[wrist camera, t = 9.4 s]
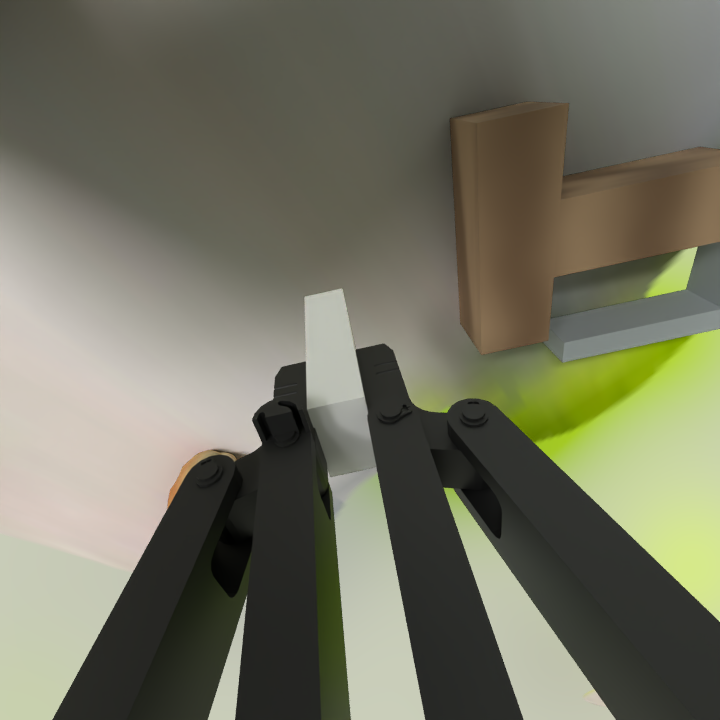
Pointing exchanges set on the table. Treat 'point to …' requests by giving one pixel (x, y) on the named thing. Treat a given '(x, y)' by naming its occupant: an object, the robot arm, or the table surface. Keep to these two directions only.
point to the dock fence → (644, 316)
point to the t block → (559, 216)
